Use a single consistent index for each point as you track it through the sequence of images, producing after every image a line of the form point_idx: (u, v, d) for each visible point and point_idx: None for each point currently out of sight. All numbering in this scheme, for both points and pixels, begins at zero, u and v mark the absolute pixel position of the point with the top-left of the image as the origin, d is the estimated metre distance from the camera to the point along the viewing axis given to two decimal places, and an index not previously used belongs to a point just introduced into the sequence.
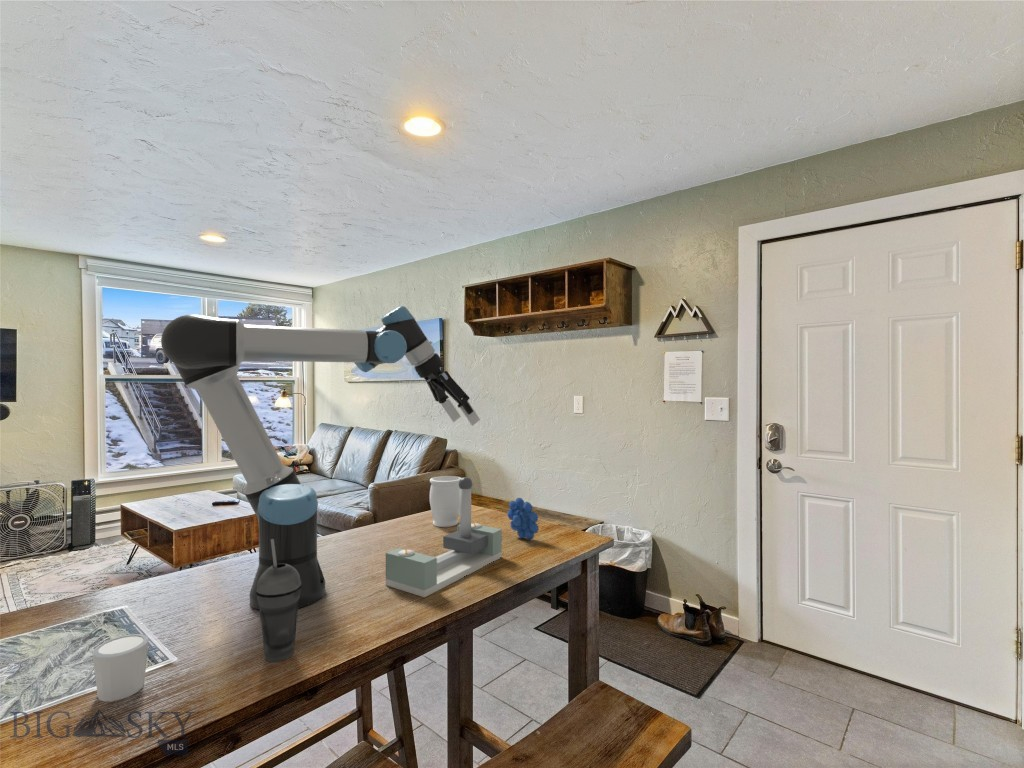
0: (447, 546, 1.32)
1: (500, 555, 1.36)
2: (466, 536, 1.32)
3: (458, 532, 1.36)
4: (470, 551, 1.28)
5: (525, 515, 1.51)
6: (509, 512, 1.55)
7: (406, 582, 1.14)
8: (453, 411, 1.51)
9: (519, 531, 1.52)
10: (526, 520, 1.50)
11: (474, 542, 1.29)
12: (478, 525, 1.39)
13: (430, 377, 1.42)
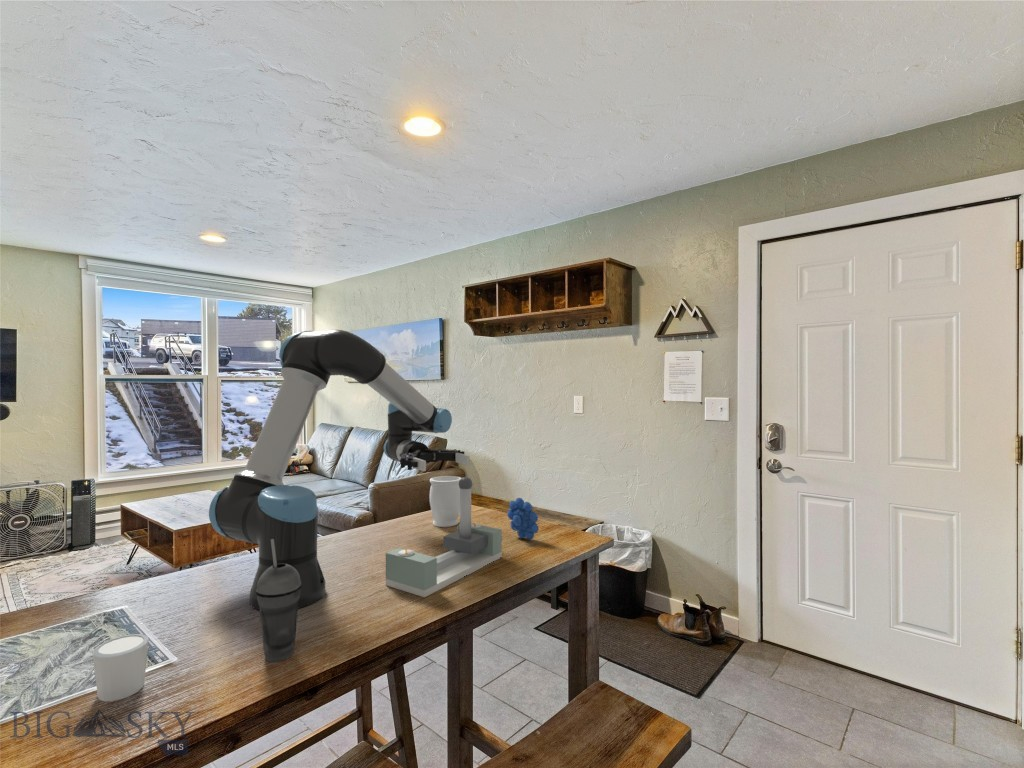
0: (447, 546, 1.32)
1: (500, 555, 1.36)
2: (466, 536, 1.32)
3: (458, 532, 1.36)
4: (470, 551, 1.28)
5: (525, 515, 1.51)
6: (509, 512, 1.55)
7: (406, 582, 1.14)
8: None
9: (519, 531, 1.52)
10: (526, 520, 1.50)
11: (474, 542, 1.29)
12: (478, 525, 1.39)
13: None
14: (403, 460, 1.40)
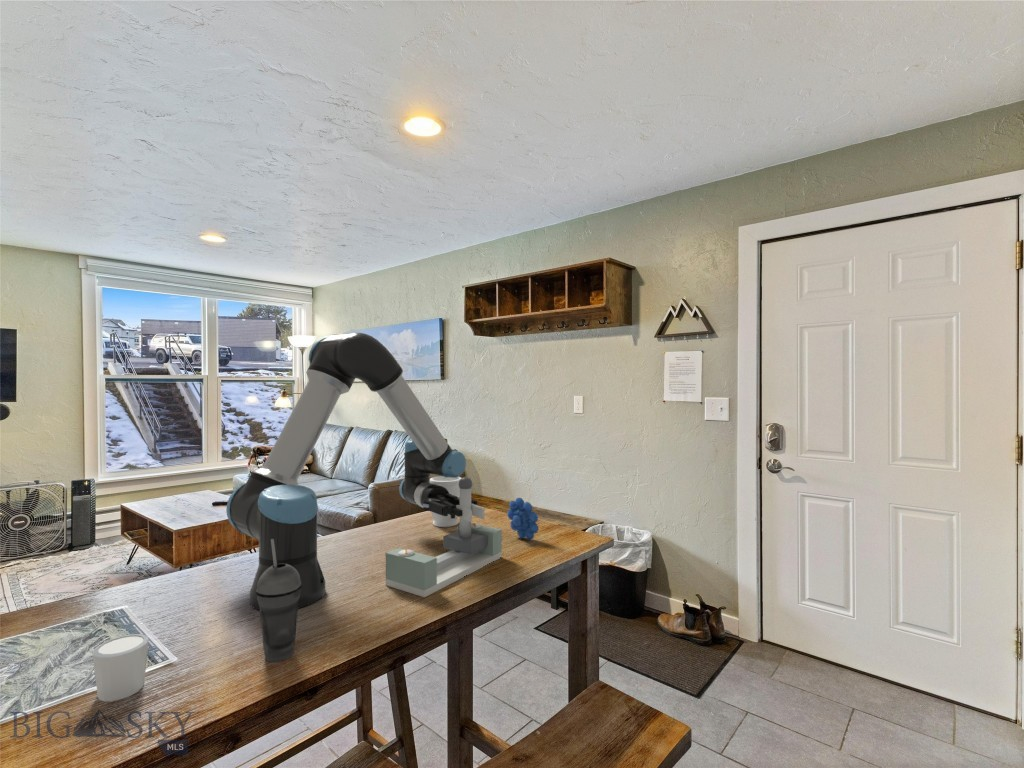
0: (447, 546, 1.32)
1: (500, 555, 1.36)
2: (466, 536, 1.32)
3: (458, 532, 1.36)
4: (470, 551, 1.28)
5: (525, 515, 1.51)
6: (509, 512, 1.55)
7: (406, 582, 1.14)
8: None
9: (519, 531, 1.52)
10: (526, 520, 1.50)
11: (474, 542, 1.29)
12: (478, 525, 1.39)
13: (434, 497, 1.42)
14: (447, 508, 1.32)
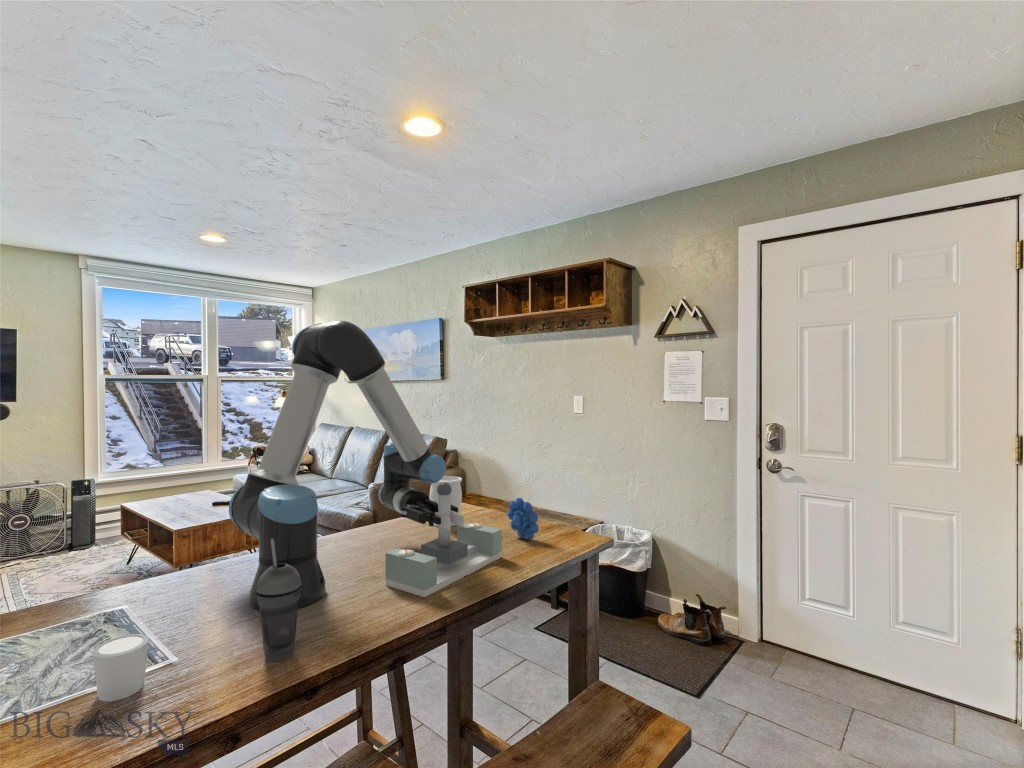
0: None
1: (500, 555, 1.36)
2: (445, 545, 1.25)
3: (437, 540, 1.29)
4: (448, 561, 1.21)
5: (525, 515, 1.51)
6: (509, 512, 1.55)
7: (406, 582, 1.14)
8: None
9: (519, 531, 1.52)
10: (526, 520, 1.50)
11: (452, 551, 1.22)
12: (478, 525, 1.39)
13: (412, 503, 1.35)
14: (425, 515, 1.25)
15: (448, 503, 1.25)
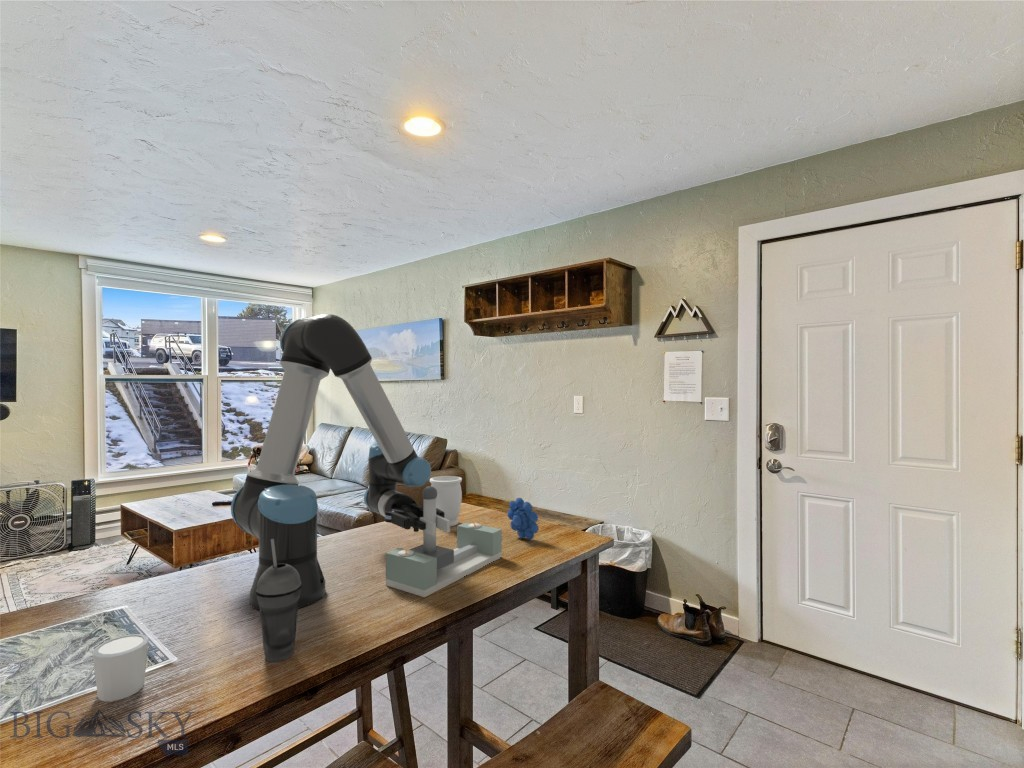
0: None
1: (500, 555, 1.36)
2: (430, 551, 1.20)
3: (423, 546, 1.24)
4: None
5: (525, 515, 1.51)
6: (509, 512, 1.55)
7: (406, 582, 1.14)
8: None
9: (519, 531, 1.52)
10: (526, 520, 1.50)
11: (438, 558, 1.17)
12: (478, 525, 1.39)
13: (398, 507, 1.31)
14: (409, 520, 1.20)
15: (433, 508, 1.20)
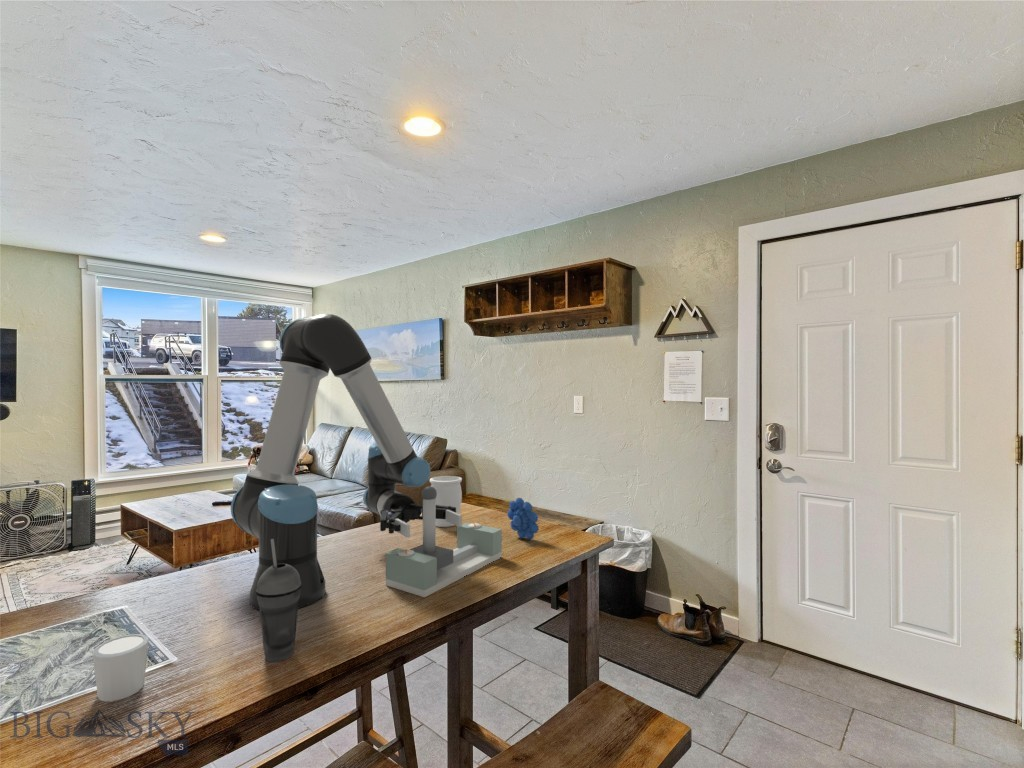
0: None
1: (500, 555, 1.36)
2: (429, 551, 1.20)
3: (422, 546, 1.24)
4: None
5: (525, 515, 1.51)
6: (509, 512, 1.55)
7: (406, 582, 1.14)
8: None
9: (519, 531, 1.52)
10: (526, 520, 1.50)
11: (437, 558, 1.17)
12: (478, 525, 1.39)
13: None
14: (383, 522, 1.19)
15: (433, 508, 1.20)
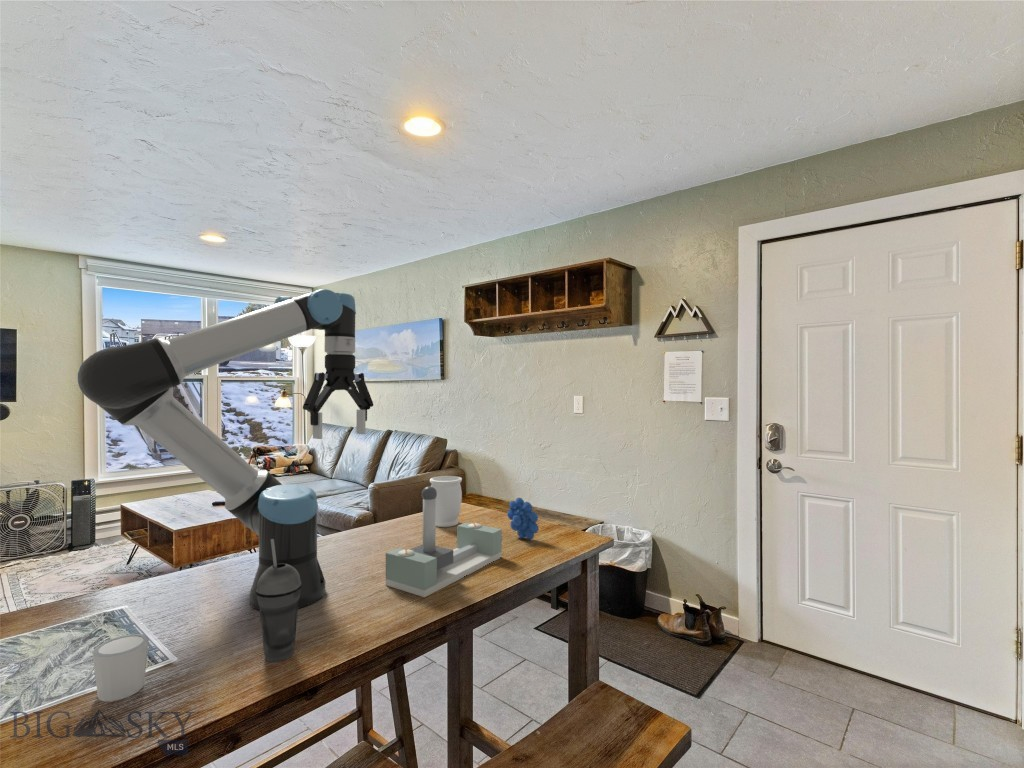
0: None
1: (500, 555, 1.36)
2: (429, 551, 1.20)
3: (422, 546, 1.24)
4: None
5: (525, 515, 1.51)
6: (509, 512, 1.55)
7: (406, 582, 1.14)
8: (360, 424, 1.37)
9: (519, 531, 1.52)
10: (526, 520, 1.50)
11: (437, 558, 1.17)
12: (478, 525, 1.39)
13: None
14: None
15: (433, 508, 1.20)
